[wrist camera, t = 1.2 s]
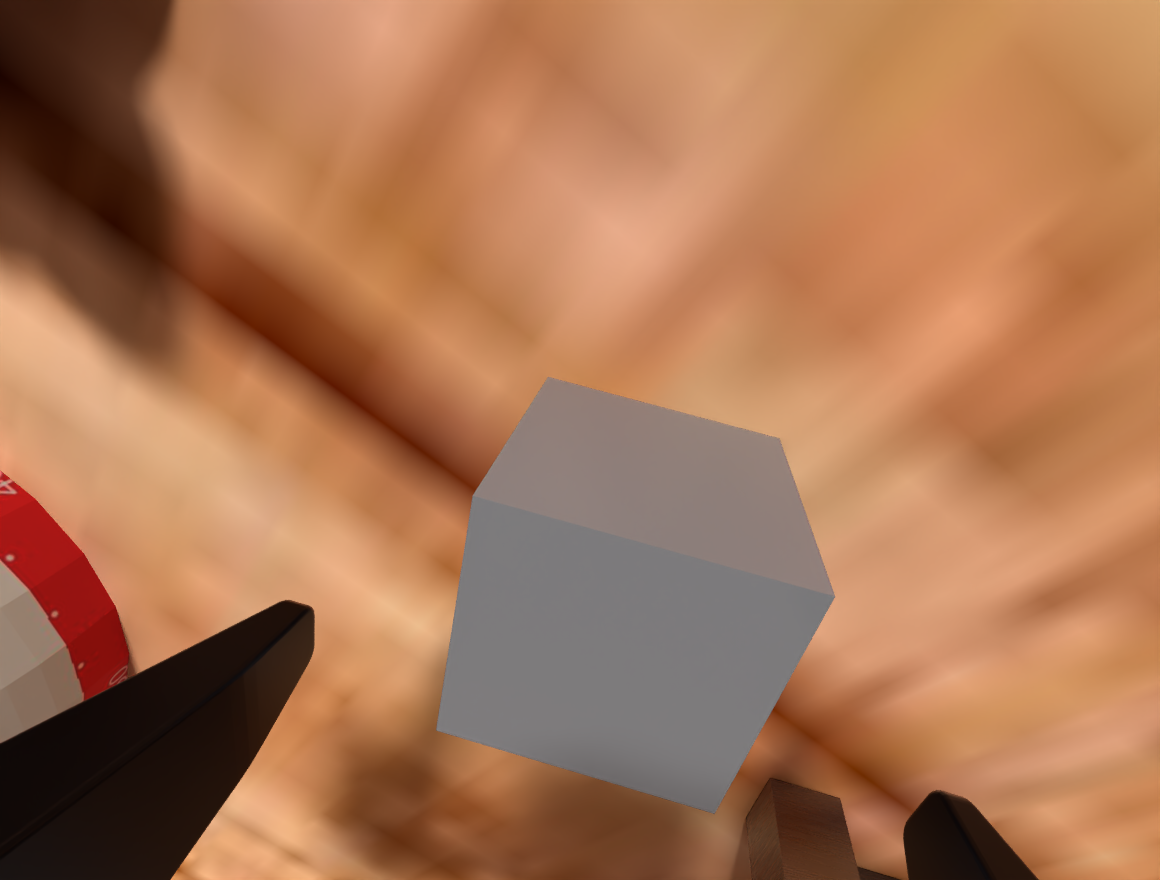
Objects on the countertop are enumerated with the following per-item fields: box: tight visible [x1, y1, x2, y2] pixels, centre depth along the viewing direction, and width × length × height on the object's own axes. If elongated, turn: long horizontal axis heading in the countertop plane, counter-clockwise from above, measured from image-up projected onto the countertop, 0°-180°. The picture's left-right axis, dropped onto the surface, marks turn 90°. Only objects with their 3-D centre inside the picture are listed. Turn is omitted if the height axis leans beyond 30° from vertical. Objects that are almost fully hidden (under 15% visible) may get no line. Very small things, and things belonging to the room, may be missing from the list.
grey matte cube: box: [436, 377, 835, 814], centre depth 11 cm, size 5×5×5 cm
